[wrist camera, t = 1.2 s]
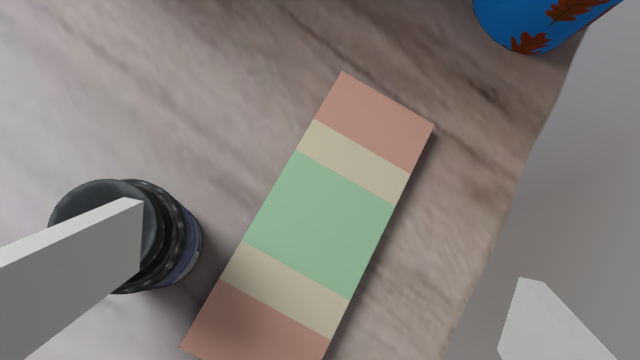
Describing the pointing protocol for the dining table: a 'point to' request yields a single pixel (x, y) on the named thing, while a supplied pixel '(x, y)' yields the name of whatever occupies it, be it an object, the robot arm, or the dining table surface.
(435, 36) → the dining table surface
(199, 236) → the pill bottle
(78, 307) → the robot arm
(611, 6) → the thermos
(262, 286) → the gauge plate
